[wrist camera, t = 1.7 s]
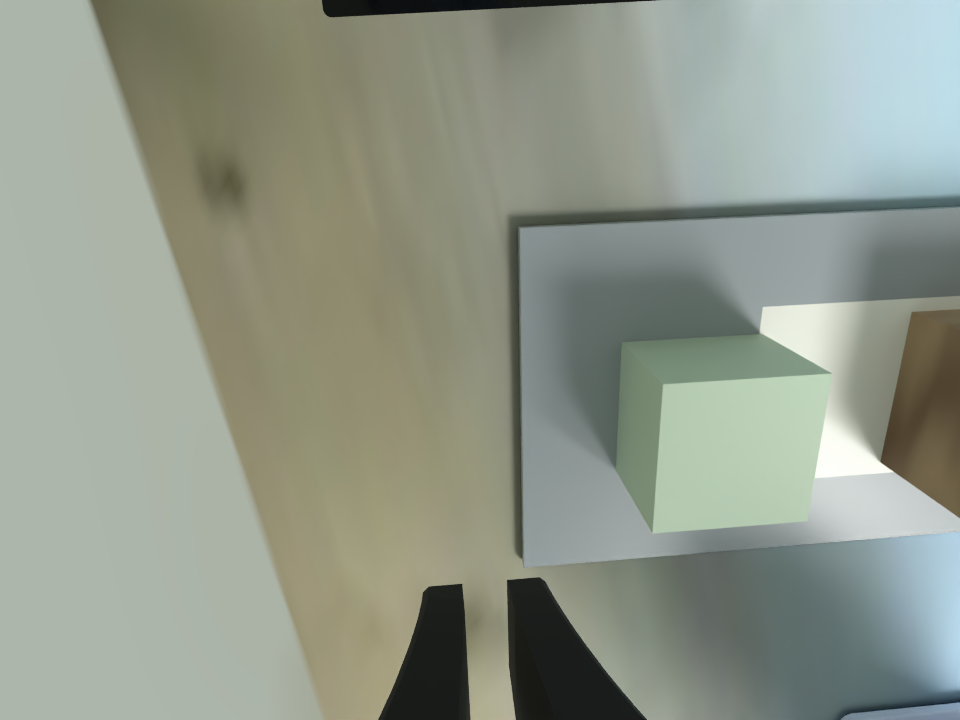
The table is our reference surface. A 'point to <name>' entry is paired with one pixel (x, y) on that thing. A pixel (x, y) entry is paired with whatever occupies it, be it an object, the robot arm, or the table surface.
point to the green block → (719, 431)
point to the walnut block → (928, 409)
